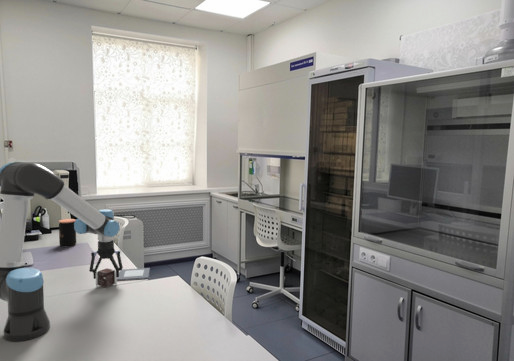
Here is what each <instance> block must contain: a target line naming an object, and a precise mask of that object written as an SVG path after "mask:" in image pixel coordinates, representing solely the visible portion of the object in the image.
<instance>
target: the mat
mask: <svg viewBox="0 0 514 361" xmlns="http://www.w3.org/2000/svg"><path fill="white" fill-rule="evenodd" d="M150 269H151V268H150V267H143V268H141V267H140V268H128V269H127V268H126V269H124V268H122V270H120V271H119V277H117V282H119V281H120V282H121V281H134V280H136V281H137V280H149V277H150Z"/></svg>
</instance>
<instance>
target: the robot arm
mask: <svg viewBox="0 0 514 361" xmlns="http://www.w3.org/2000/svg"><path fill="white" fill-rule="evenodd" d="M35 195H37V196H40V197H42V198H43V199H45V200H47V201H52V202H54V203H55V204H57V205H58V206H60V207H61V208H62V209H65V211H67V212H68V213H70V214H71V215H72V216H74V217H76V219H75V220H76V221H75V223H74V229H75V231H76V234H79V235H86V234H92V235H97V250H96V251H91V253H90V254H91V260H90V265H89V272H90V273H93V279H94V280H95V286H99V285H98V271H99V270H98V269H99V266H100V265H101V262H102V260H105V259H107V260H109V261H110V262H111V264H112V266H113V267H114V270H115V284H114V285H117V284H118V281H117V278H118V277H119V272H120V270H123V269H124V267H123V262H122V257H121V250H120V249H119V250H116V249H115V240H114V239H115V236H117V235H118V234H119V231H120V227H121V226H120V223H119V222H118V221H116V220H114V219H115V218H114V211H113V209H109V208H108V209H107V208H106V209H105V208H104V209H99V210H98V209H97V208H95V207H94V206H92V205H91V204H90V203H89V202H88V201H86V200H85V199H84V198H82V197H81V196H80V195H78V194H77V193H76V192H74V191H73V190H72V189H71V188H70V187H68V186H66V182H65V181H64V180H63V179H62V178H60V177H59V176H58V175H56V173H54V172H53V171H51V170H50V169H48V168H47V167H45V166H43V165H42V164H39V163H37V162H36V163H34V162H23V161H22V162H21V161H15V162H8V163H6V164H4V165H2V166H1V167H0V196H1V197H2V198H3V204H2V212H1V218H0V300H1V301H3V302H7V314H8V315H7V318H6V322H5V324H4V325H5V326H4V327H3V338H4V339H5V340H6V341H9V342H24V341H28V340H31V339H36V338H38V337H40V336H42V335H44V334H46V333H47V332H48V331H49V330H50V328H51V321H50V318H49V316H48V314H47V312H46V310H45V298H44V296H45V295H44V276H43V273H42V271H40V269H38V268H35V267H25V266H26V263H25V262H24V261H23V260H22V256H23V250H24V244H25V243H24V242H25V234H26V226H27V219H28V212H29V205H30V200H32V199H33V198H34V197H35ZM114 254H115V255H116V258H117V261H118V262H116V260H115V258H114V256H113V255H114ZM97 255H98V256H99V258H98V261H97V262H96V265H95V260H96V256H97ZM117 263H118V264H117ZM94 265H95V266H94Z"/></svg>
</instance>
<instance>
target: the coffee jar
mask: <svg viewBox="0 0 514 361" xmlns="http://www.w3.org/2000/svg"><path fill="white" fill-rule="evenodd" d="M76 220H77V219H74V218H65V219H60V220H58V223H59V224H58V237H59V238H58V239H59V243H58V244H59V245H60V247H61V246H70V247H74V246H76V244H77V232H76V231H75V229H74V223H75V221H76ZM73 245H74V246H73Z"/></svg>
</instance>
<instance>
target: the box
mask: <svg viewBox="0 0 514 361" xmlns="http://www.w3.org/2000/svg"><path fill="white" fill-rule="evenodd" d="M97 271H98V285H97V286H100V287H103V288H108V287H110V286H113V285H116V284H115V269H112V268H108V267H107V268H104V269H101V270H97Z"/></svg>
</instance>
